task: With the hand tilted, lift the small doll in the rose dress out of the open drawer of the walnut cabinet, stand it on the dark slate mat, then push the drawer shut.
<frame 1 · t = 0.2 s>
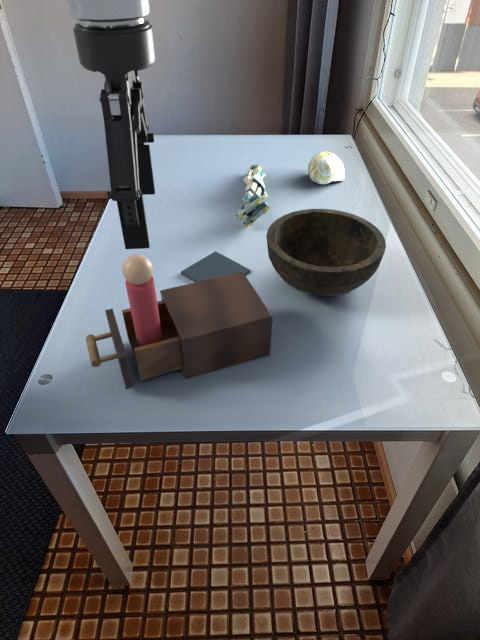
hand: (141, 218, 59), 27 cm above the table, tool pointing down, fingers open, 13 cm apart
figurine: (251, 201, 119), on the table
cabinet: (216, 341, 81), on the table
doll: (151, 350, 77), point 2 cm above the table, touching drawer
drawer: (145, 341, 75), point 4 cm above the table, slide at 8.0 cm, touching doll
seashell: (325, 180, 127), on the table
bowl: (319, 281, 94), on the table
mat: (215, 273, 96), on the table
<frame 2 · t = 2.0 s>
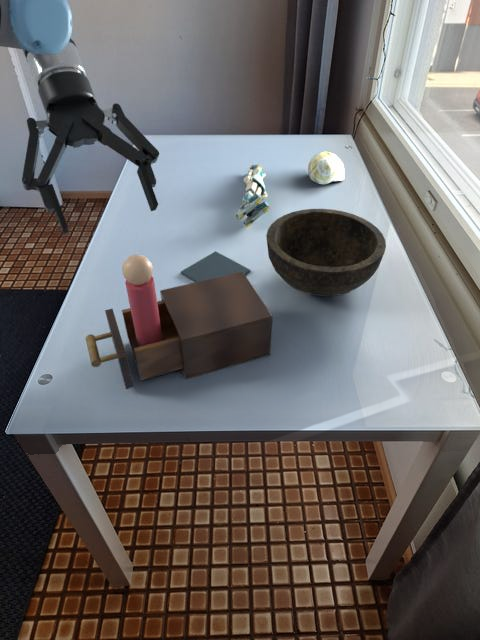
hand: (111, 219, 71), 21 cm above the table, tool tilted 45°, fingers open, 13 cm apart
nothing on the table moved.
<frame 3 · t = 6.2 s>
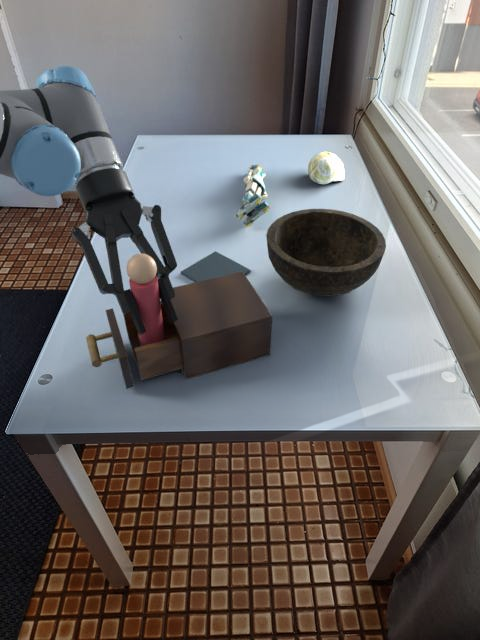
hand: (158, 327, 69), 10 cm above the table, tool tilted 45°, fingers closed on doll, 4 cm apart
doll: (153, 349, 77), point 2 cm above the table, touching drawer, gripper
everything else where it was.
when the fingers open (8 cm above the table, at t = 18.0 s): doll stays where it is, resting on mat.
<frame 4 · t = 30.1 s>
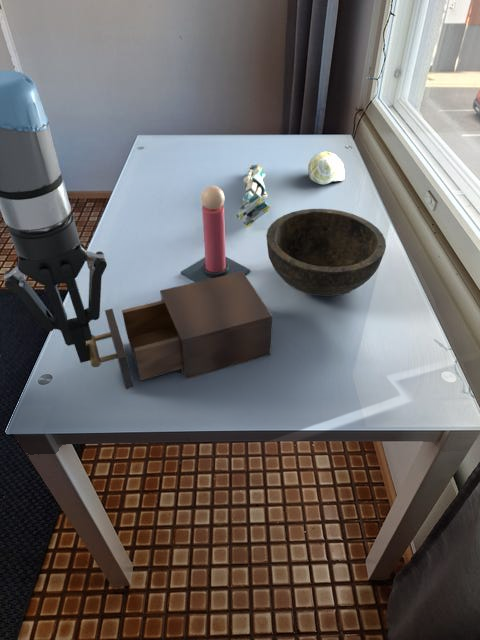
hand: (84, 355, 72), 5 cm above the table, tool pointing down, fingers closed
doll: (215, 270, 95), point 1 cm above the table, touching mat
drawer: (145, 341, 75), point 4 cm above the table, slide at 8.0 cm, touching gripper
everything else where it was.
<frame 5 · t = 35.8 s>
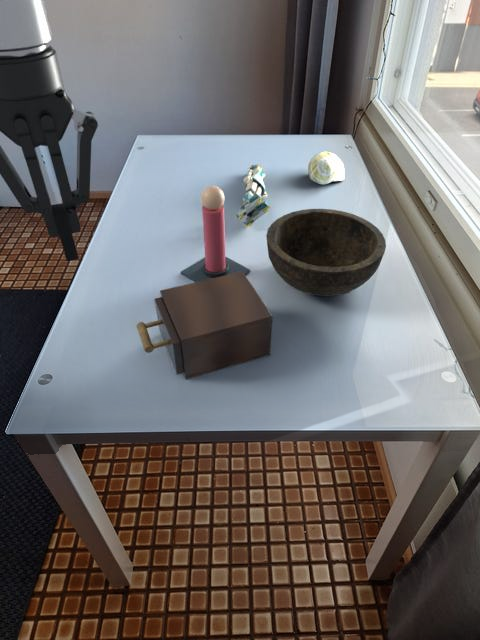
hand: (71, 254, 61), 22 cm above the table, tool pointing down, fingers closed
drawer: (194, 328, 77), point 4 cm above the table, slide at 0.0 cm
everything else where it was.
at the end: doll 0.0 cm off-centre on the mat, point 0.6 cm above the mat's base; doll tilted 0°; drawer slide at 0.0 cm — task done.
